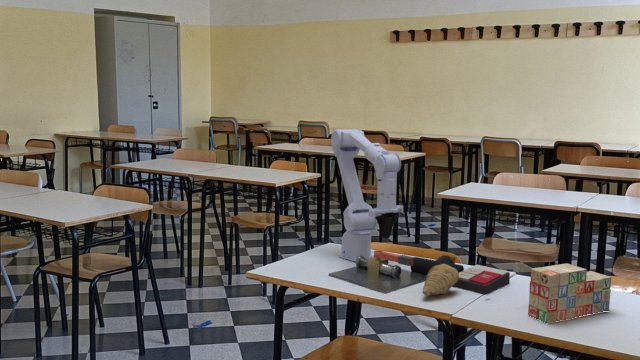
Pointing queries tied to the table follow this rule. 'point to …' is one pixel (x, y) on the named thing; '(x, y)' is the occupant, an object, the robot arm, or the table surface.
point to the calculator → (482, 279)
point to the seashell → (440, 279)
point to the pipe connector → (434, 264)
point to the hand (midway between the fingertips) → (385, 237)
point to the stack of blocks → (567, 292)
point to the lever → (394, 257)
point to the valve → (378, 275)
